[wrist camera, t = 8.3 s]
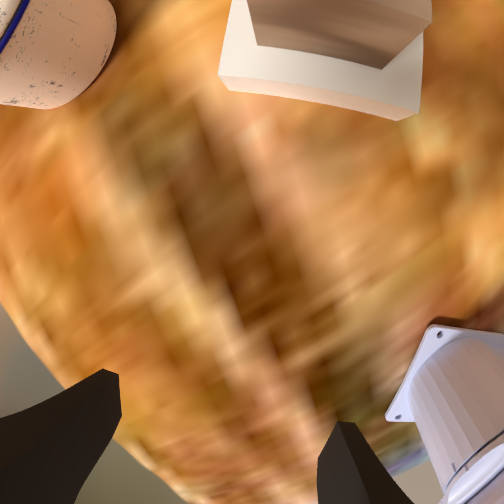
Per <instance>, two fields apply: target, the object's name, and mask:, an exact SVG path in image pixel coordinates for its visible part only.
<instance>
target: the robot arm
mask: <svg viewBox="0 0 504 504" xmlns="http://www.w3.org/2000/svg"><path fill="white" fill-rule="evenodd" d="M440 331H441V333H440V334H439V335H437V334H438V332H440ZM397 415H398V416H397ZM121 416H122V412H121V401H120V389H119V374H116V373H114V372H111V371H108V370H105V369H101V370H99V371H98V372H96V373H94V374H92V375H91V376H89V377H87V378H85V379H84V380H82V381H80V382H79V383H77V384H75V385H73V386H72V387H70V388H68V389H66V390H64V391H63V392H61V393H59V394H57V395H55V396H53V397H51V398H50V399H47V400H45V401H43V402H41V403H39V404H37V405H35V406H32V407H30V408H28V409H25V410H23V411H20V412H18V413H15V414H12V415H9V416H6V417H3V418H0V504H74V502H75V500H76V497H77V495H78V493H79V491H80V489H81V487H82V486H83V484H84V482H85V480H86V479H87V477H88V476H89V474H90V472H91V470H92V469H93V468H94V466H95V464H96V463H97V461H98V460H99V458H100V457H101V455H102V453H103V452H104V450H105V448H106V447H107V445H108V444H109V442H110V440H111V439H112V437H113V434H114V432H115V430H116V428H117V426H118V423H119V421H120V419H121ZM385 418H386V420H387V421H396V422H416V425H417V427H418V430H419V432H420V434H421V437H422V439H423V442H424V444H425V447H426V449H427V452H428V454H429V457H430V459H431V462H432V464H433V467H434V470H435V472H436V475H437V478H438V480H439V483H440V486H441V489H442V492H443V494H444V497H443V498H442V499H441V500H440V501H439V502H438V503H437V504H504V334H503V333H495V332H487V331H479V330H472V329H465V328H458V327H451V326H444V325H437V324H432V325H430V326H429V327H428V328H427V329H426V331H425V334H424V336H423V338H422V341H421V343H420V345H419V348H418V350H417V352H416V354H415V356H414V359H413V361H412V363H411V365H410V367H409V369H408V371H407V373H406V375H405V378H404V380H403V382H402V384H401V386H400V387H399V389H398V391H397V393H396V395H395V397H394V399H393V401H392V403H391V405H390V406H389V408H388V410H387V412H386V414H385ZM317 493H318V504H414V503H413V502H412V501H411V500H410V499H409V498H408V497H407V496H406V494H405V493H404V492H403V491H402V490H401V488H400V487H399V486H398V485H397V484H396V482H395V481H394V480H393V479H392V477H391V476H390V475H389V473H388V472H387V471H386V469H385V468H384V466H383V465H382V464H381V462H380V461H379V459H378V458H377V456H376V455H375V453H374V452H373V450H372V449H371V447H370V446H369V444H368V443H367V441H366V440H365V438H364V436H363V435H362V433H361V432H360V430H359V429H358V427H357V426H356V424H355V423H351V422H339V421H337V423H336V425H335V427H334V429H333V431H332V433H331V435H330V437H329V439H328V441H327V442H326V444H325V446H324V448H323V450H322V452H321V454H320V455H319V457H318V467H317Z"/></svg>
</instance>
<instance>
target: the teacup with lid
mask: <svg viewBox="0 0 504 504" xmlns="http://www.w3.org/2000/svg"><path fill="white" fill-rule="evenodd" d="M116 28H117V22H116V15H115V11H114V8H113V7H112V5H111V3H110V2H109V1H108V0H0V104H4V105H13V106H22V107H30V108H37V109H52V108H56V107H59V106H62V105H64V104H66V103H68V102H70V101H71V100H73V99H74V98H76V97H77V96H78V95H80V94H81V93H82V92H83V91H84V90H85V89H86V88H87V87H88V86H89V85H90V84H91V83H92V82H93V80H94V79H95V78H96V77H97V75H98V74H99V72H100V71H101V69H102V68H103V66H104V65H105V63H106V61H107V59H108V57H109V55H110V52H111V50H112V47H113V44H114V40H115V36H116Z"/></svg>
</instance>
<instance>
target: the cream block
mask: <svg viewBox="0 0 504 504" xmlns="http://www.w3.org/2000/svg"><path fill="white" fill-rule="evenodd" d="M422 68H423V32H422V33H420V34H419V35H418V36H417V37H416V38H415V39H414V40H413V41H412V42H411V43H410V44H409V45H408V46H406V47H405V48H404V49H403V50H402V51H401V52H400V53H399V54H398V55H397V56H396V57H395V58H394V59H393V60H392V61H391V62H389V63H388V64H387V65H386V66H385V67H384V68H383V69H382V70H380V69H377V68H373V67H370V66H366V65H362V64H358V63H354V62H350V61H346V60H341V59H337V58H332V57H328V56H323V55H318V54H312V53H307V52H301V51H295V50H288V49H282V48H274V47H266V46H258V45H257V43H256V38H255V34H254V29H253V25H252V21H251V16H250V12H249V8H248V4H247V0H232V4H231V9H230V13H229V18H228V23H227V28H226V33H225V38H224V43H223V49H222V54H221V59H220V65H219V71H218V76H219V77H220V79H221V80H222V82H223V83H224V84H225V86H226V87H227V88H228V90H230V91H240V92H250V93H258V94H266V95H274V96H281V97H287V98H294V99H300V100H306V101H311V102H317V103H322V104H327V105H332V106H337V107H342V108H346V109H351V110H355V111H360V112H364V113H368V114H372V115H376V116H380V117H384V118H387V119H391V120H395V121H399V120H401V119H404V118H407V117H410V116H413V115H416V114H419V111H420V99H421V86H422Z"/></svg>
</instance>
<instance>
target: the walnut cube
mask: <svg viewBox="0 0 504 504" xmlns="http://www.w3.org/2000/svg"><path fill="white" fill-rule="evenodd" d="M247 4H248V8H249V12H250V16H251V21H252V25H253V29H254V34H255V38H256V43H257V45H258V46H266V47H274V48H282V49H288V50H295V51H301V52H307V53H312V54H318V55H323V56H328V57H332V58H337V59H341V60H346V61H350V62H354V63H358V64H362V65H366V66H370V67H373V68H377V69H380V70H382V69H383V68H384V67H385V66H386V65H387V64H388V63H389V62H391V61H392V60H393V59H394V58H395V57H396V56H397V55H398V54H399V53H400V52H401V51H402V50H403V49H404V48H405V47H406V46H408V45H409V44H410V43H411V42H412V41H413V40H414V39H415V38H416V37H417V36H418V35H419V34H420V33H422V32H423V31H424V30H425V29H426V28H427V27H428V26H429V25H430V24H431V23H432V0H247Z"/></svg>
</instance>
